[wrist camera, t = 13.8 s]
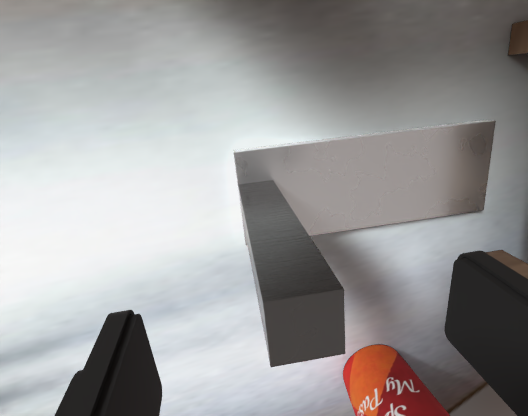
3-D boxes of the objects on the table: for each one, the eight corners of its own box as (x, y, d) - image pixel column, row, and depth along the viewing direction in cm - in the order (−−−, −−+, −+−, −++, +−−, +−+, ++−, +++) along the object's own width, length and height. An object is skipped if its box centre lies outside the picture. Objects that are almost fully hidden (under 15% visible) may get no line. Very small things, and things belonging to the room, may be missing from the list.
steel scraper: (233, 150, 23) (254, 233, 9) (483, 119, 25) (835, 149, 11) (244, 238, 26) (276, 417, 11) (472, 205, 27) (750, 324, 13)
